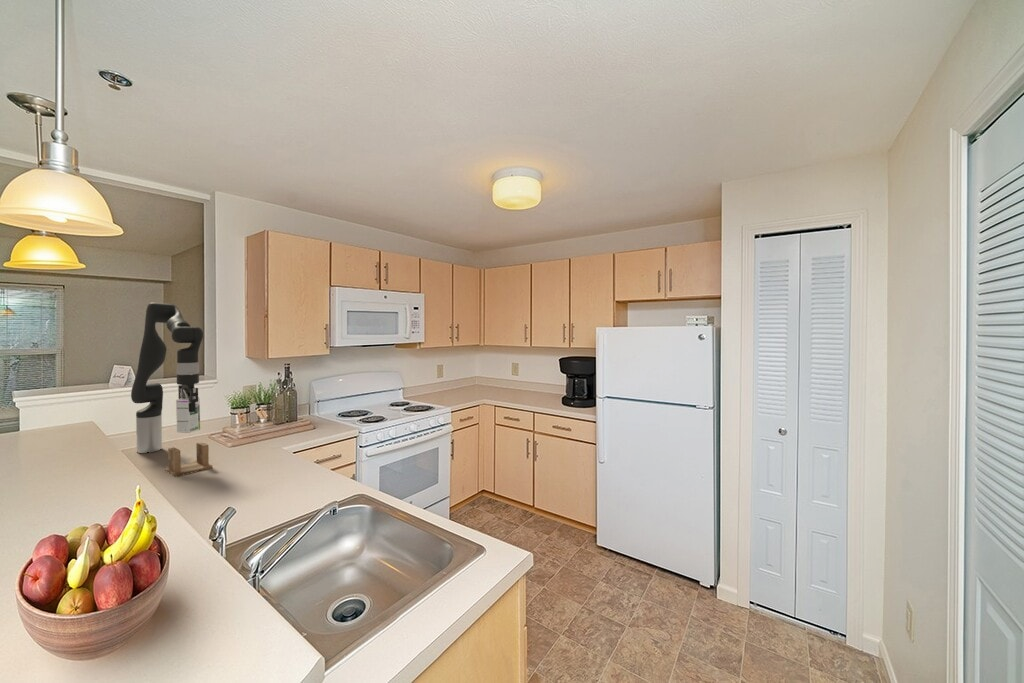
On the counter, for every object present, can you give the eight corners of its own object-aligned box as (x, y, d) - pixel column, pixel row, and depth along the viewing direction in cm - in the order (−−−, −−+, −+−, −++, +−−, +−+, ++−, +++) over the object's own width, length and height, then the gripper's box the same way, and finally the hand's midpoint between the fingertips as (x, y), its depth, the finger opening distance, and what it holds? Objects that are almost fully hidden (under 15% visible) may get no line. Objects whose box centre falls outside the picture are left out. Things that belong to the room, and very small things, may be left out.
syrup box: (189, 433, 169) (189, 399, 168) (176, 432, 169) (175, 399, 168) (200, 429, 175) (200, 397, 174) (187, 429, 175) (187, 396, 174)
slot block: (164, 470, 170) (164, 447, 170) (200, 462, 181) (200, 440, 181) (175, 476, 164) (175, 453, 163) (212, 467, 175) (212, 445, 174)
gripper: (170, 372, 171) (171, 409, 172) (183, 375, 164) (184, 414, 164) (191, 370, 178) (192, 407, 178) (205, 373, 170) (205, 411, 171)
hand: (188, 410), depth 171 cm, fingers closed on syrup box, 7 cm apart
